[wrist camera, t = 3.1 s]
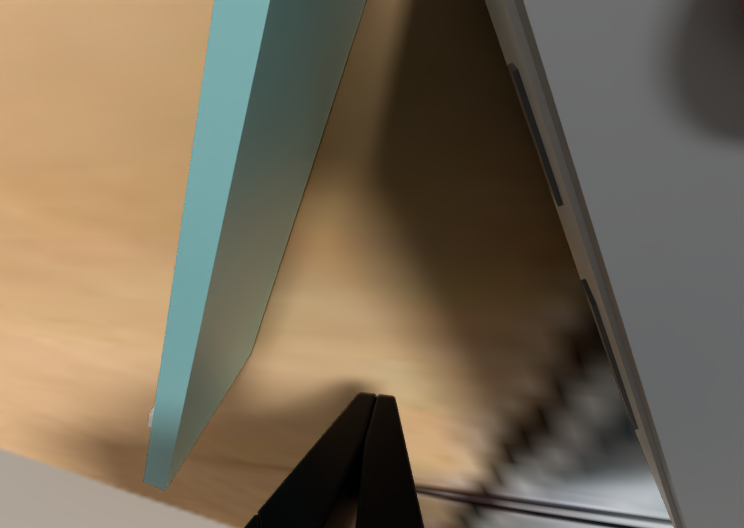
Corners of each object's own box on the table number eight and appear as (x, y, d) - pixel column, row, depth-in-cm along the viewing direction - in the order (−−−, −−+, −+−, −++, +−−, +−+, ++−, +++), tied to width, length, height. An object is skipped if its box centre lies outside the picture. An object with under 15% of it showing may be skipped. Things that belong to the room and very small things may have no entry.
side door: (343, -177, 6) (163, -449, 2) (423, -137, 6) (362, -344, 3) (216, 336, 12) (111, 474, 9) (256, 354, 12) (169, 498, 9)
